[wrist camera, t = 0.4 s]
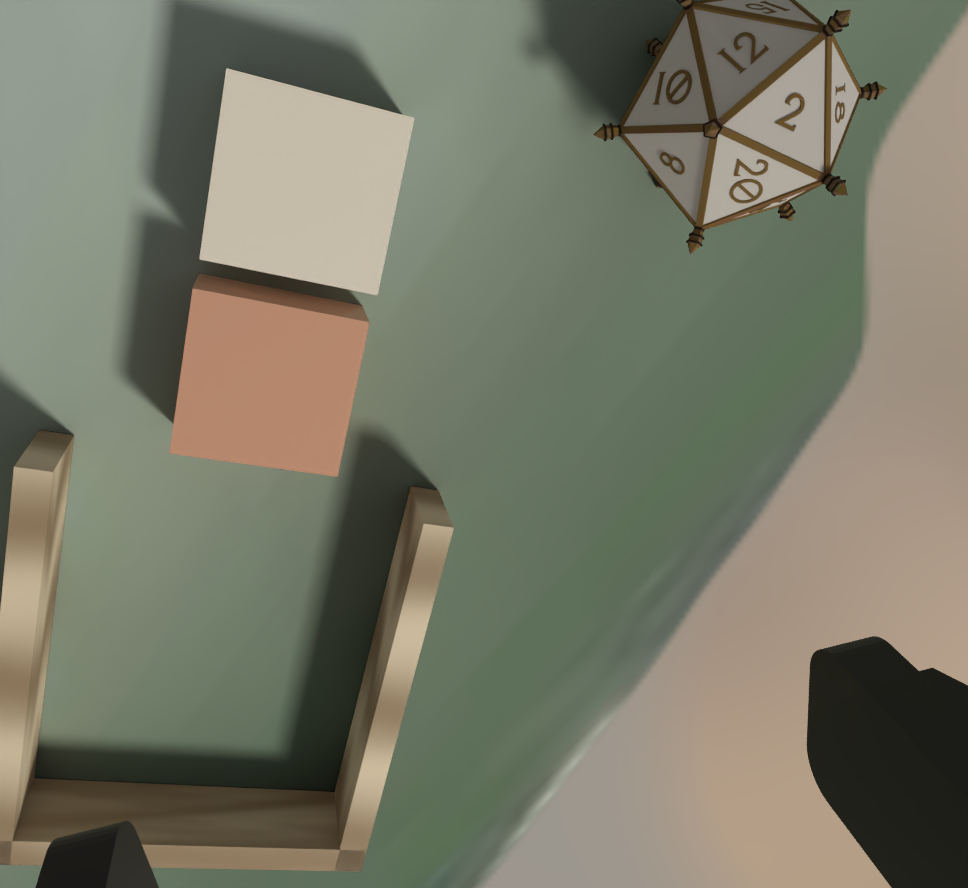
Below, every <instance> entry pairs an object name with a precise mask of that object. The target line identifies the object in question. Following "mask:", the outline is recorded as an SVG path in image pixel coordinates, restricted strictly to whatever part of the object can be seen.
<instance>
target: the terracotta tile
mask: <svg viewBox="0 0 968 888" xmlns="http://www.w3.org/2000/svg"><path fill="white" fill-rule="evenodd" d="M369 323H370V322H369V320H368V318H367V315H366V313H365V311H364V308H363V306H362V305H357V304H352V303H347V302H342V301H337V300H332V299H327V298H322V297H316V296H311V295H306V294H301V293H296V292H291V291H286V290H281V289H276V288H271V287H266V286H261V285H256V284H251V283H246V282H241V281H236V280H231V279H226V278H221V277H216V276H210V275H205V274H200V273H198V276H197V278H196V281H195V284H194V286H193V289H192V296H191V303H190V311H189V318H188V325H187V332H186V339H185V346H184V353H183V360H182V367H181V374H180V382H179V389H178V396H177V403H176V410H175V417H174V424H173V431H172V438H171V445H170V452H169V453H171V454H178V455H185V456H192V457H199V458H207V459H214V460H221V461H228V462H235V463H243V464H250V465H257V466H264V467H271V468H279V469H286V470H293V471H300V472H307V473H314V474H322V475H329V476H336V477H338V472H339V467H340V463H341V458H342V453H343V448H344V443H345V438H346V434H347V429H348V424H349V419H350V414H351V410H352V405H353V400H354V395H355V390H356V385H357V381H358V376H359V371H360V366H361V361H362V356H363V352H364V347H365V342H366V337H367V332H368V327H369Z"/></svg>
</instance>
